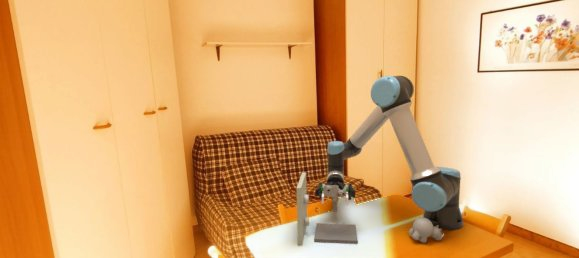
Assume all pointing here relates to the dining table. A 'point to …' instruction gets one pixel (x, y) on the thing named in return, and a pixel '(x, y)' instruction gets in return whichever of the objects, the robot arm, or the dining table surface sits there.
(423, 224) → the chubby cartoon animal
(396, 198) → the dining table surface
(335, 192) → the mechanical component
